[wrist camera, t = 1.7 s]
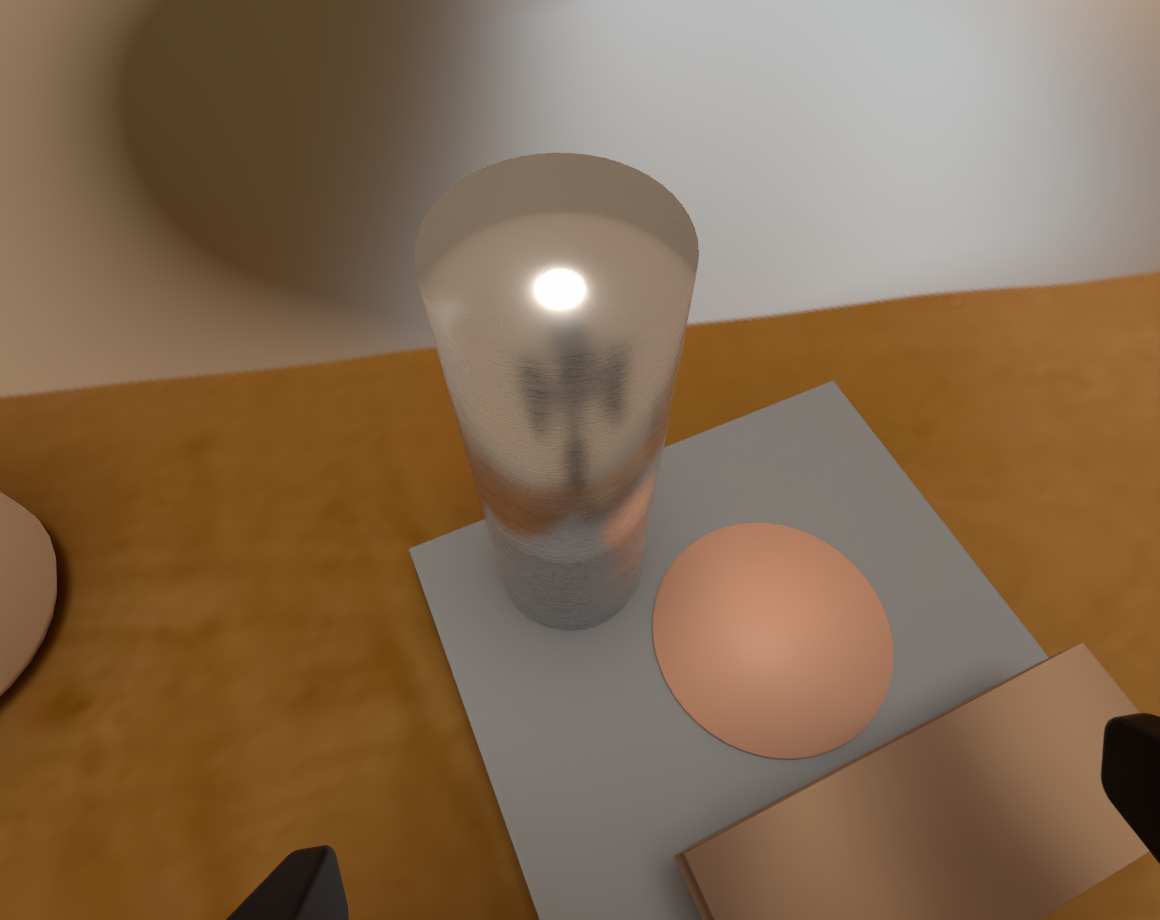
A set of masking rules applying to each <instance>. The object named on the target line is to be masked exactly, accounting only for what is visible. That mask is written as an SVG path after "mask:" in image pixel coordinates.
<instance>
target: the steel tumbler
mask: <svg viewBox="0 0 1160 920" xmlns="http://www.w3.org/2000/svg"><path fill="white" fill-rule="evenodd" d="M698 257H699V250H698V240H697V236H696V232H695V228H694V226H693V223H692V221H691V219H690V217H689V215H688V214H687V212H686V210H685V209H684V207H683V206H682V204H681V203H680V202H679V201H678V200H677V199H676V197H675V196H674V195H673V194H672V193H671V192H670V191H668V190H667V189H666V188H665V187H664V186H663V185H662V184H660V183H659V182H657V181H656V180H654V179H653V178H651V177H650V176H648V175H646V174H644V173H642V172H640V171H639V170H637V169H635V168H632V167H629V166H627V165H624V164H622V163H619V162H616V161H612V160H609V159H606V158H601V157H596V156H591V155H582V154H574V153H547V154H535V155H529V156H522V157H518V158H514V159H510V160H505V161H503V162H500V163H497V164H494V165H491V166H489V167H486V168H484V169H482V170H480V171H477V172H475V173H473V174H471V175H470V176H468V177H466V178H465V179H463V180H461V181H460V182H459V183H457V184H456V185H455V186H453V187H452V188H450V189H449V190H448V191H447V192H446V193H445V194H444V195H443V196H442V197H441V198H440V199H438V201H437V202H436V203H435V204H434V206H433V207H432V208H431V209H430V210H429V212H428V214H427V215H426V217H425V219H424V221H423V222H422V225H421V227H420V229H419V232H418V234H417V238H416V243H415V248H414V265H415V272H416V277H417V281H418V284H419V288H420V291H421V294H422V298H423V302H424V305H425V309H426V312H427V316H428V320H429V323H430V326H431V330H432V334H433V337H434V340H435V344H436V348H437V351H438V355H439V358H440V362H441V366H442V369H443V373H444V376H445V380H446V383H447V387H448V390H449V394H450V397H451V401H452V405H453V408H454V412H455V415H456V419H457V422H458V426H459V429H460V433H461V436H462V440H463V444H464V447H465V451H466V454H467V458H468V461H469V465H470V468H471V472H472V475H473V479H474V483H475V486H476V490H477V493H478V497H479V500H480V504H481V507H482V511H483V514H484V518H485V522H486V525H487V529H488V532H489V536H490V539H491V543H492V546H493V550H494V553H495V557H496V560H497V564H498V568H499V571H500V575H501V578H502V582H503V585H504V588H505V590H506V592H507V594H508V596H509V598H510V599H511V601H512V602H513V604H514V605H515V606H516V607H517V608H518V609H519V611H520V612H522V613H523V614H524V615H525V616H526V617H528V618H529V619H531V620H533V621H534V622H536V623H538V624H540V625H543V626H545V627H548V628H552V629H557V630H564V631H575V630H583V629H588V628H592V627H595V626H597V625H600V624H602V623H604V622H606V621H608V620H609V619H611V618H612V617H614V616H615V615H616V614H617V613H618V612H620V611H621V610H622V609H623V608H624V606H625V605H626V604H627V603H628V602H629V600H630V598H631V597H632V595H633V594H634V591H635V589H636V587H637V584H638V580H639V577H640V572H641V566H642V561H643V555H644V550H645V545H646V539H647V534H648V529H649V523H650V518H651V513H652V507H653V502H654V497H655V491H656V486H657V481H658V475H659V470H660V464H661V459H662V454H663V448H664V443H665V438H666V432H667V427H668V422H669V416H670V411H671V406H672V400H673V395H674V390H675V384H676V379H677V373H678V368H679V363H680V357H681V352H682V347H683V341H684V336H685V331H686V325H687V320H688V315H689V309H690V303H691V298H692V293H693V287H694V282H695V277H696V271H697V265H698Z"/></svg>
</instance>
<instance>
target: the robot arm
mask: <svg viewBox="0 0 1160 920" xmlns="http://www.w3.org/2000/svg"><path fill="white" fill-rule="evenodd" d="M1101 782H1102V786H1103V789H1104V791H1105V793H1106V795H1107V797H1108V799H1109V800H1110V802H1111V803H1112V804H1113V806H1114V807H1115V808H1116V809H1117V811H1118V812H1119V813H1120V815H1121V816H1122V817H1123V818H1124V820H1125V821H1126V822H1127V823H1128V825H1129V826H1130V827H1131V828H1132V830H1133V831H1134V832H1135V833H1136V835H1137V836H1138V837H1139V838H1140V840H1141V841H1142V842H1143V843H1144V845H1145V846H1146V847H1147V849H1148V850H1149V851H1150V852H1151V854H1152V855H1153V856H1154V857H1155V859H1156V860H1157V861H1158V862H1159V864H1160V717H1159V716H1156V715H1152V714H1148V713H1136V714H1130V715H1124V716H1118V717H1114V718H1111V719H1110V720H1109V721H1108V722H1107V724H1106V725H1105V728H1104V737H1103V750H1102V763H1101ZM226 920H349V918H348V905H347V901H346V896H345V892H344V887H343V883H342V879H341V874H340V870H339V865H338V861H337V857H336V854H335V852H334V850H333V848H331V847H329V846H328V845H324V846H318V847H312V848H305V849H299V850H296V851H294V852H292V853H291V854H289V855H288V856H287V857H286V858H285V859H284V860H283V861H282V862H281V863H280V864H279V865H278V866H277V867H276V868H275V870H274V871H273V872H272V873H271V874H270V875H269V876H268V877H267V878H266V879H265V880H264V881H263V882H262V883H261V884H260V885H259V886H258V887H257V888H256V889H255V890H254V891H253V892H252V893H251V894H250V895H249V896H248V897H247V898H246V899H245V900H244V901H243V903H242V904H241V905H240V906H239V907H238V908H237V909H236V910H235V911H234V912H233V913H232V914H231V915H230V916H229V917H228V918H227V919H226Z"/></svg>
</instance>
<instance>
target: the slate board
mask: <svg viewBox="0 0 1160 920" xmlns="http://www.w3.org/2000/svg"><path fill="white" fill-rule="evenodd" d="M409 551H410V554H411V556H412V559H413V562H414V565H415V568H416V571H417V573H418V576H419V579H420V582H421V585H422V588H423V590H424V593H425V596H426V599H427V602H428V605H429V607H430V610H431V613H432V616H433V619H434V622H435V625H436V627H437V630H438V633H439V636H440V639H441V642H442V644H443V647H444V650H445V653H446V656H447V659H448V661H449V664H450V667H451V670H452V673H453V676H454V678H455V681H456V684H457V687H458V690H459V693H460V695H461V698H462V701H463V704H464V707H465V710H466V712H467V715H468V718H469V721H470V724H471V727H472V730H473V732H474V735H475V738H476V741H477V744H478V747H479V749H480V752H481V755H482V758H483V761H484V764H485V766H486V769H487V772H488V775H489V778H490V781H491V783H492V786H493V789H494V792H495V795H496V798H497V800H498V803H499V806H500V809H501V812H502V815H503V818H504V820H505V823H506V826H507V829H508V832H509V835H510V837H511V840H512V843H513V846H514V849H515V852H516V854H517V857H518V860H519V863H520V866H521V869H522V871H523V874H524V877H525V880H526V883H527V886H528V888H529V891H530V894H531V897H532V900H533V903H534V905H535V908H536V911H537V914H538V917H539V920H703V919H702V917H701V915H700V913H699V911H698V908H697V906H696V904H695V902H694V899H693V897H692V895H691V893H690V891H689V888H688V886H687V884H686V882H685V879H684V877H683V875H682V873H681V871H680V868H679V866H678V864H677V862H676V859H675V857H674V855H675V854H677V853H679V852H681V851H683V850H685V849H687V848H688V846H690V845H692V844H694V843H696V842H698V841H699V840H701V839H703V838H705V837H707V836H709V835H711V834H713V833H715V832H717V831H718V830H720V829H722V828H724V827H726V826H728V825H730V824H732V823H734V822H735V821H737V820H739V819H741V818H743V817H745V816H747V815H749V814H751V813H752V812H754V811H756V810H758V809H760V808H762V807H764V806H766V805H768V804H770V803H771V802H773V801H775V800H777V799H779V798H781V797H783V796H785V795H787V794H788V793H790V792H792V791H794V790H796V789H798V788H800V787H802V786H804V785H806V784H807V783H809V782H811V781H813V780H815V779H817V778H819V777H821V776H823V775H824V774H826V773H828V772H830V771H832V770H834V769H836V768H838V767H840V766H841V765H843V764H845V763H847V762H849V761H851V760H853V759H855V758H857V757H859V756H860V755H862V754H864V753H866V752H868V751H870V750H872V749H874V748H876V747H877V746H879V745H881V744H883V743H885V742H887V741H889V740H891V739H893V738H894V737H896V736H898V735H900V734H902V733H904V732H906V731H908V730H910V729H912V728H913V727H915V726H917V725H919V724H921V723H923V722H925V721H927V720H929V719H930V718H932V717H934V716H936V715H938V714H940V713H942V712H944V711H946V710H947V709H949V708H951V707H953V706H955V705H957V704H959V703H961V702H963V701H965V700H966V699H968V698H970V697H972V696H974V695H976V694H978V693H980V692H982V691H983V690H985V689H987V688H989V687H991V686H993V685H995V684H997V683H999V682H1001V681H1002V680H1004V679H1006V678H1009V677H1012V676H1014V675H1016V674H1018V673H1020V672H1021V671H1023V670H1025V669H1027V668H1029V667H1031V666H1033V665H1035V664H1037V663H1039V662H1041V661H1043V660H1045V659H1047V658H1049V657H1048V656H1047V655H1046V653H1045V652H1044V651H1043V650H1042V648H1041V647H1040V646H1039V644H1038V643H1037V642H1036V641H1035V639H1034V638H1033V637H1032V636H1031V634H1030V633H1029V632H1028V630H1027V629H1026V628H1025V627H1024V625H1023V624H1022V623H1021V621H1020V620H1019V619H1018V618H1017V616H1016V615H1015V614H1014V612H1013V611H1012V610H1011V609H1010V607H1009V606H1008V605H1007V603H1006V602H1005V601H1004V600H1003V598H1002V597H1001V596H1000V594H999V593H998V592H997V591H996V589H995V588H994V587H993V585H992V584H991V583H990V582H989V580H988V579H987V578H986V576H985V575H984V574H983V573H982V571H981V570H980V569H979V567H978V566H977V565H976V564H975V562H974V561H973V560H972V558H971V557H970V556H969V555H968V553H967V552H966V551H965V549H964V548H963V547H962V546H961V544H960V543H959V542H958V540H957V539H956V538H955V537H954V535H953V534H952V533H951V531H950V530H949V529H948V528H947V526H946V525H945V524H944V522H943V521H942V520H941V519H940V517H939V516H938V515H937V513H936V512H935V511H934V510H933V508H932V507H931V506H930V504H929V503H928V502H927V501H926V499H925V498H924V497H923V495H922V494H921V493H920V492H919V490H918V489H917V488H916V486H915V485H914V484H913V483H912V481H911V480H910V479H909V477H908V476H907V475H906V474H905V472H904V471H903V470H902V468H901V467H900V466H899V465H898V463H897V462H896V461H895V459H894V458H893V457H892V456H891V454H890V453H889V452H888V450H887V449H886V448H885V447H884V445H883V444H882V443H881V441H880V440H879V439H878V438H877V436H876V435H875V434H874V432H873V431H872V430H871V429H870V427H869V426H868V425H867V423H866V422H865V421H864V420H863V418H862V417H861V416H860V415H859V413H858V412H857V411H856V409H855V408H854V407H853V406H852V404H851V403H850V402H849V400H848V399H847V398H846V397H845V395H844V394H843V393H842V391H841V390H840V389H839V388H838V386H837V385H836V384H835V382H834V381H831V382H828V383H826V384H823V385H821V386H818V387H816V388H813V389H811V390H808V391H806V392H803V393H801V394H798V395H796V396H793V397H791V398H788V399H786V400H783V401H781V402H778V403H775V404H773V405H770V406H768V407H765V408H763V409H760V410H758V411H755V412H753V413H750V414H748V415H745V416H743V417H740V418H738V419H735V420H733V421H730V422H728V423H725V424H723V425H720V426H718V427H715V428H712V429H710V430H707V431H705V432H702V433H700V434H697V435H695V436H692V437H690V438H687V439H685V440H682V441H680V442H677V443H675V444H672V445H670V446H667V447H665V448H663V454H662V459H661V464H660V470H659V475H658V481H657V486H656V491H655V497H654V502H653V507H652V513H651V518H650V523H649V529H648V534H647V539H646V545H645V550H644V555H643V561H642V566H641V572H640V577H639V580H638V584H637V587H636V589H635V591H634V594H633V595H632V597H631V598H630V600H629V602H628V603H627V604H626V605H625V606H624V608H623V609H622V610H621V611H620V612H618V613H617V614H616V615H615V616H614V617H612V618H611V619H609V620H608V621H606V622H604V623H602V624H600V625H597V626H595V627H592V628H588V629H583V630H575V631H564V630H557V629H552V628H548V627H545V626H543V625H540V624H538V623H536V622H534V621H533V620H531V619H529V618H528V617H526V616H525V615H524V614H523V613H522V612H520V611H519V609H518V608H517V607H516V606H515V605H514V604H513V602H512V601H511V599H510V598H509V596H508V594H507V592H506V590H505V588H504V585H503V582H502V578H501V575H500V571H499V568H498V564H497V560H496V557H495V553H494V550H493V546H492V543H491V539H490V536H489V532H488V529H487V525H486V522H485V519H483V520H481V521H478V522H476V523H473V524H471V525H468V526H466V527H463V528H460V529H458V530H455V531H453V532H450V533H448V534H445V535H443V536H440V537H438V538H435V539H433V540H430V541H428V542H425V543H423V544H420V545H418V546H415V547H413V548H410V549H409Z"/></svg>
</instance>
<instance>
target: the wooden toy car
mask: <svg viewBox="0 0 1160 920" xmlns="http://www.w3.org/2000/svg"><path fill="white" fill-rule="evenodd" d="M1136 713H1140V712H1139V711H1138V710H1137V709H1136V707H1135V706H1134V705H1133V704H1132V702H1131V701H1130V700H1129V699H1128V697H1127V696H1126V695H1125V694H1124V693H1123V691H1122V690H1121V689H1120V688H1119V686H1118V685H1117V684H1116V683H1115V681H1114V680H1113V679H1112V678H1111V677H1110V675H1109V674H1108V673H1107V672H1106V670H1105V669H1104V668H1103V667H1102V665H1101V664H1100V663H1099V662H1098V660H1097V659H1096V658H1095V657H1094V656H1093V654H1092V653H1091V652H1090V651H1089V649H1088V648H1087V647H1086V646H1085V644H1084V643H1083V642H1082V643H1080V644H1078V645H1076V646H1073V647H1071V648H1069V649H1067V650H1065V651H1063V652H1060V653H1058V654H1056V655H1054V656H1052V657H1050V658H1047V659H1045V660H1043V661H1041V662H1039V663H1037V664H1035V665H1033V666H1031V667H1029V668H1027V669H1025V670H1023V671H1021V672H1020V673H1018V674H1016V675H1014V676H1012V677H1009V678H1006V679H1004V680H1002V681H1001V682H999V683H997V684H995V685H993V686H991V687H989V688H987V689H985V690H983V691H982V692H980V693H978V694H976V695H974V696H972V697H970V698H968V699H966V700H965V701H963V702H961V703H959V704H957V705H955V706H953V707H951V708H949V709H947V710H946V711H944V712H942V713H940V714H938V715H936V716H934V717H932V718H930V719H929V720H927V721H925V722H923V723H921V724H919V725H917V726H915V727H913V728H912V729H910V730H908V731H906V732H904V733H902V734H900V735H898V736H896V737H894V738H893V739H891V740H889V741H887V742H885V743H883V744H881V745H879V746H877V747H876V748H874V749H872V750H870V751H868V752H866V753H864V754H862V755H860V756H859V757H857V758H855V759H853V760H851V761H849V762H847V763H845V764H843V765H841V766H840V767H838V768H836V769H834V770H832V771H830V772H828V773H826V774H824V775H823V776H821V777H819V778H817V779H815V780H813V781H811V782H809V783H807V784H806V785H804V786H802V787H800V788H798V789H796V790H794V791H792V792H790V793H788V794H787V795H785V796H783V797H781V798H779V799H777V800H775V801H773V802H771V803H770V804H768V805H766V806H764V807H762V808H760V809H758V810H756V811H754V812H752V813H751V814H749V815H747V816H745V817H743V818H741V819H739V820H737V821H735V822H734V823H732V824H730V825H728V826H726V827H724V828H722V829H720V830H718V831H717V832H715V833H713V834H711V835H709V836H707V837H705V838H703V839H701V840H699V841H698V842H696V843H694V844H692V845H690V846H688V848H687V849H685V850H683V851H681V852H679V853H677V854H675V855H674V857H675V859H676V862H677V864H678V866H679V868H680V871H681V873H682V875H683V877H684V879H685V882H686V884H687V886H688V888H689V891H690V893H691V895H692V897H693V899H694V902H695V904H696V906H697V908H698V911H699V913H700V915H701V917H702V919H703V920H1040V919H1041V918H1043V917H1045V916H1046V915H1048V914H1049V913H1051V912H1053V911H1054V910H1056V909H1057V908H1059V907H1061V906H1062V905H1064V904H1066V903H1067V902H1069V901H1070V900H1072V899H1074V898H1075V897H1077V896H1078V895H1080V894H1082V893H1083V892H1085V891H1086V890H1088V889H1090V888H1091V887H1093V886H1094V885H1096V884H1098V883H1099V882H1101V881H1102V880H1104V879H1106V878H1107V877H1109V876H1111V875H1112V874H1114V873H1115V872H1117V871H1119V870H1120V869H1122V868H1123V867H1125V866H1127V865H1128V864H1130V863H1131V862H1133V861H1135V860H1136V859H1138V858H1139V857H1141V856H1143V855H1144V854H1146V853H1148V852H1149V850H1148V849H1147V847H1146V846H1145V845H1144V843H1143V842H1142V841H1141V840H1140V838H1139V837H1138V836H1137V835H1136V833H1135V832H1134V831H1133V830H1132V828H1131V827H1130V826H1129V825H1128V823H1127V822H1126V821H1125V820H1124V818H1123V817H1122V816H1121V815H1120V813H1119V812H1118V811H1117V809H1116V808H1115V807H1114V806H1113V804H1112V803H1111V802H1110V800H1109V799H1108V797H1107V795H1106V793H1105V791H1104V789H1103V786H1102V782H1101V763H1102V750H1103V737H1104V728H1105V725H1106V724H1107V722H1108V721H1109V720H1110V719H1111V718H1114V717H1118V716H1124V715H1130V714H1136Z"/></svg>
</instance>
